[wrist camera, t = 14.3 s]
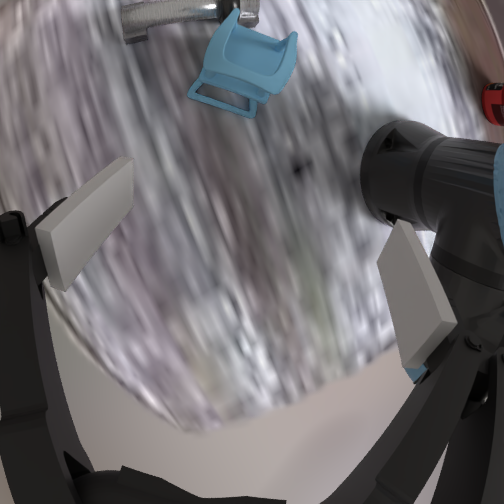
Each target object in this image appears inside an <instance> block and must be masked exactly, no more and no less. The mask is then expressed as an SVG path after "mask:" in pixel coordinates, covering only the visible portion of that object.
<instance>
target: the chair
mask: <svg viewBox="0 0 504 504" xmlns="http://www.w3.org/2000/svg"><path fill="white" fill-rule="evenodd" d="M239 14H240V10H239V9H238V8H235V9H234V10H233V11H232V12H231V13H230V15H229V16H228V17H227V18H226V19H225V20H224V22H223V23H222V24H221V25H220V26H219V27H218V29H217V30H216V31H215V33H214V35H213V37H212V38H211V40H210V43H209V45H208V48H207V50H206V53H205V57H204V61H203V68H202V71H201V73H200V75H199V78H198V79H197V80H196V81H195V82H194V83H193V85H192V86H191V88H190V89H189V91H188V93H187V96H188V98H190V99H193V100H197V101H200V102H203V103H206V104H209V105H212V106H215V107H218V108H221V109H224V110H227V111H230V112H233V113H236V114H238V115H241V116H244V117H247V118H254V117H255V115H256V111H257V102H259V103H262V104H266V103H267V100H268V98H269V95H270V94H274V95H276V94H278V93H280V92H281V90H282V89H283V88H284V86H285V85H286V83H287V82H288V80H289V78H290V76H291V74H292V72H293V70H294V67H295V64H296V56H297V37H298V34H297V32H295V31H293V32H292V33H291V34H290V35H289V36H288V37H287V38H286V39H283V40H281V41H279V40H277V39H274V38H271V37H269V36H266V35H263V34H261V33H258V32H256V31H253V30H251V29H248V28H246V27H243V26H241V25H238V24H237V18H238V16H239ZM203 83H206V84H209V85H212V86H216V87H219V88H222V89H225V90H228V91H231V92H233V93H236V94H239V95H241V96H244V97H246V98H249V111H245V110H242V109H240V108H237V107H234V106H232V105H229V104H226V103H223V102H221V101H218V100H215V99H212V98H209V97H206V96H203V95H200V94H197V93H196V90H197V89H198V88H199V87H200V86H201V85H202V84H203Z"/></svg>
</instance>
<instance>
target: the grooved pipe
mask: <svg viewBox="0 0 504 504" xmlns="http://www.w3.org/2000/svg"><path fill="white" fill-rule="evenodd" d="M259 7H260V2H259V0H159V1H154V2H148V3H144V2H139V3H135V4H130V5H126V6H122V9H121V18H122V26H123V38H124V41H125V43H126V44H131V43H136V42H140V41H145V40H148V37H147V28H149V27H154V26H160V25H166V24H172V23H178V22H185V21H193V20H201V19H211V18H219V21H220V23H221V24H222V23H223V22H224V20H225V19H226V18H227V17H228V16H229V15H230V13H231V12H232V11H233V10H234V9H235V8H238V9H239V10H240V14H239V16H238V18H237V24H238V25H241V26H243V27H246V28H252V27H256V25H257V24H258V23H259V18H258V13H259Z"/></svg>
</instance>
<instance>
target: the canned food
mask: <svg viewBox="0 0 504 504" xmlns="http://www.w3.org/2000/svg"><path fill="white" fill-rule="evenodd" d="M482 106H483V110H484V113H485V115H486V118H487V119H488V120H489V122H491V123H492V124H494V125H499V126H504V83H490V84H487V85H486V86H485V87H484V89H483V92H482Z"/></svg>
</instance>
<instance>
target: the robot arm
mask: <svg viewBox="0 0 504 504" xmlns="http://www.w3.org/2000/svg"><path fill="white" fill-rule="evenodd" d="M133 162H134V158H127V157H121V156H120V157H119V158H117V159H116V160H115V161H113V162H112V163H111V164H109V165H108V166H107V167H105V168H104V169H103V170H101V171H100V172H99V173H98V174H96V175H95V176H94V177H93V178H91V179H90V180H89V181H88V182H86V183H85V184H84V185H83V186H81V187H80V188H79V189H78V190H77V191H75V192H74V193H73V194H72V195H71V196H69V197H65V198H63V199H61V200H59V201H57V202H55V203H54V204H53V205H52V206H51V207H49V209H47V210H46V211H45V212H44V213H43V215H40V216H39V217H38V218H37V219H36V220H35V221H34V222H33V223H32V224H31V225H30V226H29V227H27V226H26V222H25V217H24V214H23V213H22V212H21V211H16V210H15V211H9V212H6V213H4V214H2V215H0V408H1V416H2V417H1V420H0V456H1V460H2V463H3V467H4V471H5V475H6V478H7V482H8V485H9V488H10V491H11V494H12V497H13V500H14V503H15V504H286V500H277V499H267V498H257V497H249V496H241V497H226V498H201V497H198V496H195V495H193V494H191V493H189V492H187V491H185V490H183V489H181V488H179V487H177V486H175V485H173V484H171V483H169V482H168V481H166V480H164V479H162V478H159V477H156V476H153V475H149V474H146V473H143V472H140V471H137V470H134V469H131V468H128V467H125V466H122V468H121V470H120V471H116V470H115V471H114V470H105V471H97V472H95V471H94V468H93V466H92V464H91V462H90V460H89V458H88V456H87V454H86V452H85V450H84V449H83V447H82V445H81V443H80V441H79V438H78V435H77V432H76V430H75V426H74V424H73V420H72V417H71V414H70V411H69V408H68V404H67V401H66V397H65V394H64V390H63V386H62V382H61V379H60V375H59V371H58V366H57V362H56V358H55V352H54V348H53V343H52V337H51V332H50V326H49V320H48V313H47V306H46V298H45V290H44V286H43V283H42V281H43V280H44V279H45V278H46V276H48V279H49V282H50V286H51V287H53V288H56V289H59V290H61V291H64V292H66V291H67V289H68V288H69V287H70V285H71V284H72V282H73V281H74V280H75V278H76V277H77V276H78V274H79V273H80V272H81V270H82V269H83V268H84V266H85V265H86V264H87V263H88V261H89V260H90V259H91V257H92V256H93V255H94V254H95V252H96V251H97V250H98V249H99V247H100V246H101V245H102V244H103V242H104V241H105V240H106V239H107V237H108V236H109V235H110V234H111V233H112V231H113V230H114V229H115V228H116V227H117V225H118V224H119V223H120V222H121V221H122V220H123V218H124V217H125V216H126V215H127V214H128V213H129V211H130V210H131V209H132V208H133ZM360 177H361V188H362V193H363V196H364V199H365V202H366V204H367V206H368V208H369V209H370V211H371V212H372V214H373V215H374V216H375V217H376V218H377V219H378V220H380V221H381V222H383V223H384V224H386V225H388V226H391V227H393V230H392V232H391V234H390V236H389V238H388V240H387V242H386V244H385V246H384V248H383V250H382V252H381V254H380V256H379V258H378V260H377V266H378V269H379V273H380V276H381V280H382V283H383V287H384V290H385V294H386V298H387V302H388V306H389V309H390V313H391V317H392V322H393V326H394V330H395V334H396V339H397V343H398V348H399V353H400V357H401V362H402V367H403V368H404V369H405V370H406V372H407V374H408V376H409V377H410V378H411V380H412V381H413V382H414V384H416V386H415V387H414V389H413V390H412V392H411V394H410V395H409V397H408V398H407V400H406V401H405V403H404V404H403V406H402V407H401V409H400V410H399V412H398V413H397V415H396V416H395V418H394V419H393V420H392V422H391V423H390V425H389V426H388V427H387V429H386V430H385V431H384V433H383V434H382V436H381V437H380V438H379V439H378V441H377V442H376V443H375V445H374V446H373V447H372V448H371V450H370V451H369V452H368V453H367V455H366V456H365V457H364V458H363V460H362V461H361V462H360V463H359V464H358V465H357V467H356V468H355V469H354V470H353V471H352V472H351V474H350V475H349V476H348V477H347V478H346V479H345V480H344V482H343V483H342V484H341V485H340V486H339V487H338V488H337V489H336V490H335V491H334V492H333V493H332V494H331V495H330V496H329V497H328V498H327V499H325V500H324V501H323V502H321V503H320V504H414V502H415V500H416V498H417V497H418V495H419V494H420V492H421V490H422V489H423V487H424V486H425V484H426V482H427V481H428V479H429V477H430V476H431V474H432V472H433V470H434V468H435V467H436V465H437V463H438V461H439V459H440V458H441V456H442V454H443V452H444V450H445V448H446V446H447V444H448V447H447V451H446V455H445V459H444V463H443V466H442V470H441V473H440V476H439V480H438V483H437V486H436V489H435V492H434V495H433V498H432V501H431V504H504V144H499V143H492V142H486V141H478V140H471V139H462V138H452V137H447V136H445V135H443V134H441V133H440V132H438V131H436V130H434V129H432V128H430V127H429V126H427V125H425V124H422V123H420V122H416V121H394V122H391V123H388V124H386V125H385V126H383V127H382V128H380V129H379V130H378V131H377V132H376V133H375V134H374V135H373V137H372V138H371V140H370V141H369V143H368V145H367V147H366V149H365V152H364V155H363V159H362V164H361V174H360ZM415 231H433V232H435V233H436V236H435V240H434V244H433V248H432V251H431V254H430V257H429V258H428V256H427V254H426V252H425V250H424V248H423V246H422V244H421V242H420V240H419V238H418V236H417V234H416V232H415ZM448 442H449V443H448Z"/></svg>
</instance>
